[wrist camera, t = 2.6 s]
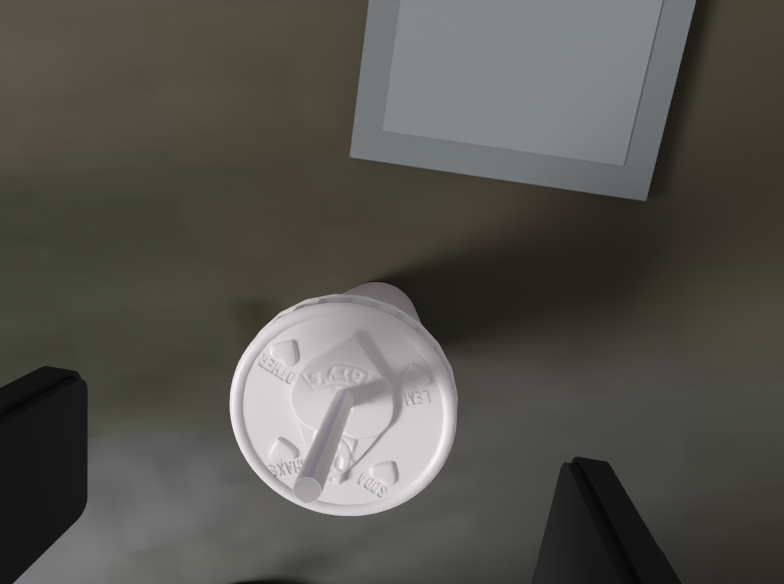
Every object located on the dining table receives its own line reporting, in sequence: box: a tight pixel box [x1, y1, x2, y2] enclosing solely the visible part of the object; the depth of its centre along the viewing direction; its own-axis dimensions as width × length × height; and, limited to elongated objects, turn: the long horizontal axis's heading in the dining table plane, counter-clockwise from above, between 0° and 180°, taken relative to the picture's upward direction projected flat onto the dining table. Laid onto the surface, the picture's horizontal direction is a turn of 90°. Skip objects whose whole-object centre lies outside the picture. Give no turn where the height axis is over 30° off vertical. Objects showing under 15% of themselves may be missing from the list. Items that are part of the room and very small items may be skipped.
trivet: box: [350, 0, 696, 201], centre depth 20 cm, size 12×12×1 cm
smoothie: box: [230, 282, 458, 516], centre depth 17 cm, size 6×6×14 cm
